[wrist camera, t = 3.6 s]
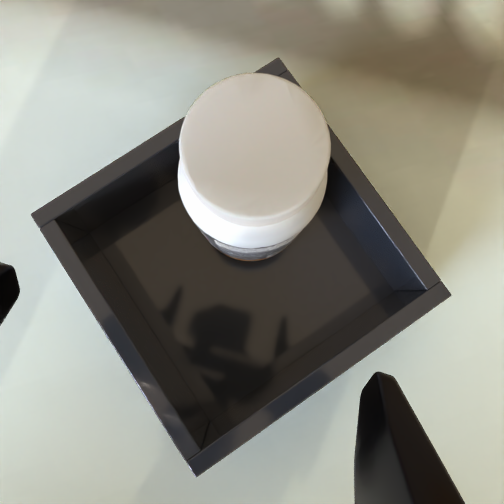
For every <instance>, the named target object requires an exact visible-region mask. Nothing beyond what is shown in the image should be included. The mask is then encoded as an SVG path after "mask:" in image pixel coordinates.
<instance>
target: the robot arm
mask: <svg viewBox="0 0 504 504" xmlns="http://www.w3.org/2000/svg"><path fill="white" fill-rule="evenodd" d="M19 293H20V288H19V284H18V280H17V276H16V272H15V269H14V268H13V267H12V266H11V265H8V264H4V263H1V262H0V326H1V324H2V322H3V321H4V319H5V318H6V316H7V314H8V313H9V311H10V310H11V308H12V306H13V305H14V303H15V302H16V300H17V298H18V296H19ZM354 491H355V504H465V502H464V500H463V499H462V497H461V495H460V493H459V491H458V490H457V488H456V486H455V484H454V482H453V481H452V479H451V477H450V475H449V474H448V472H447V470H446V468H445V466H444V465H443V463H442V461H441V459H440V457H439V456H438V454H437V452H436V450H435V449H434V447H433V445H432V443H431V441H430V440H429V438H428V436H427V434H426V432H425V431H424V429H423V427H422V425H421V424H420V422H419V420H418V418H417V416H416V415H415V413H414V411H413V409H412V407H411V406H410V404H409V402H408V400H407V398H406V397H405V395H404V393H403V391H402V390H401V388H400V386H399V384H398V382H397V381H396V379H395V378H394V377H393V376H391V375H388V374H385V373H382V372H376V373H374V374H373V376H372V377H371V378H370V380H369V381H368V383H367V384H366V385H365V387H364V388H363V390H362V393H361V396H360V405H359V415H358V426H357V436H356V446H355V459H354Z"/></svg>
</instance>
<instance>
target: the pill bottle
mask: <svg viewBox="0 0 504 504" xmlns="http://www.w3.org/2000/svg"><path fill="white" fill-rule="evenodd" d="M330 153H331V141H330V134H329V129H328V126H327V123H326V120H325V118H324V116H323V114H322V112H321V110H320V108H319V107H318V105H317V104H316V103H315V101H314V100H313V99H312V98H311V97H310V96H309V95H308V94H307V93H306V92H305V91H304V90H303V89H301V88H300V87H299V86H297V85H296V84H294V83H292V82H290V81H288V80H286V79H284V78H281V77H278V76H274V75H270V74H263V73H244V74H238V75H235V76H231V77H228V78H225V79H223V80H221V81H219V82H217V83H215V84H214V85H212V86H211V87H209V88H208V89H206V90H205V91H204V92H203V93H202V94H201V95H200V96H199V97H198V98H197V99H196V100H195V102H194V103H193V104H192V106H191V107H190V109H189V111H188V113H187V114H186V116H185V119H184V122H183V125H182V128H181V132H180V138H179V154H180V160H179V166H178V190H179V193H180V197H181V200H182V202H183V205H184V207H185V209H186V211H187V213H188V214H189V216H190V217H191V219H192V220H193V222H194V223H195V225H196V226H197V227H198V228H199V230H200V231H201V232H202V234H203V235H204V236H205V237H206V238H207V240H208V241H209V242H210V243H211V244H212V245H213V246H214V247H215V248H216V249H217V250H219V251H220V252H222V253H223V254H225V255H227V256H229V257H231V258H234V259H237V260H242V261H258V260H263V259H267V258H269V257H272V256H274V255H276V254H278V253H280V252H281V251H282V250H284V249H285V248H286V247H287V246H288V245H290V244H291V242H292V241H293V240H294V239H295V238H296V237H297V236H298V235H299V233H300V232H301V231H302V230H303V229H304V228H305V227H306V226H307V224H308V223H309V222H310V221H311V220H312V219H313V217H314V216H315V214H316V213H317V211H318V209H319V208H320V206H321V203H322V201H323V198H324V194H325V190H326V185H327V168H328V164H329V160H330Z"/></svg>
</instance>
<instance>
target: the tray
mask: <svg viewBox="0 0 504 504" xmlns="http://www.w3.org/2000/svg"><path fill="white" fill-rule="evenodd" d="M254 73H263V74H270V75H274V76H278V77H281V78H284V79H286V80H288V81H290V82H292V83H294V84H296V85H297V86H299V87H300V85H299V84H298V83H297V81H296V80H295V78H294V77H293V76H292V74H291V73H290V72H289V70H288V71H287V68H286V67H285V65H284V64H283V62H282V61H281V60H280V58H276V59H275V60H273V61H272V62H270V63H269V64H267V65H265V66H264V67H262V68H261V69H259V70H258V71H256V72H254ZM300 88H301V87H300ZM301 89H302V88H301ZM184 119H185V117H183V118H182V119H180V120H179V121H177V122H175V123H174V124H172V125H171V126H169V127H168V128H166V129H164V130H163V131H161V132H160V133H158V134H156V135H155V136H153V137H152V138H150V139H149V140H147V141H145V142H144V143H142V144H141V145H139V146H137V147H136V148H134V149H133V150H131V151H130V152H128V153H126V154H125V155H123V156H122V157H120V158H119V159H117V160H115V161H114V162H112V163H111V164H109V165H107V166H106V167H104V168H103V169H101V170H100V171H98V172H96V173H95V174H93V175H92V176H90V177H89V178H87V179H85V180H84V181H82V182H81V183H79V184H77V185H76V186H74V187H73V188H71V189H70V190H68V191H66V192H65V193H63V194H62V195H60V196H59V197H57V198H55V199H54V200H52V201H51V202H49V203H47V204H46V205H44V206H43V207H41V208H40V209H38V210H36V211H35V212H33V213H32V214H31V216H32V218H33V219H34V221H35V222H36V224H37V226H38V227H39V228H40V231H41V232H42V234H43V235H44V237H45V239H46V240H47V242H48V243H49V245H50V246H51V248H52V250H53V251H54V253H55V254H56V256H57V258H58V259H59V261H60V262H61V264H62V266H63V267H64V269H65V270H66V272H67V274H68V275H69V277H70V278H71V280H72V282H73V283H74V285H75V286H76V288H77V289H78V291H79V293H80V294H81V296H82V297H83V299H84V301H85V302H86V304H87V305H88V307H89V309H90V310H91V312H92V313H93V315H94V317H95V318H96V320H97V321H98V323H99V324H100V326H101V328H102V329H103V331H104V332H105V334H106V336H107V337H108V339H109V340H110V342H111V344H112V345H113V347H114V348H115V350H116V352H117V353H118V355H119V356H120V358H121V360H122V361H123V363H124V364H125V366H126V367H127V369H128V371H129V372H130V374H131V375H132V377H133V379H134V380H135V382H136V383H137V385H138V387H139V388H140V390H141V391H142V393H143V395H144V396H145V398H146V399H147V401H148V402H149V404H150V406H151V407H152V409H153V410H154V412H155V414H156V415H157V417H158V418H159V420H160V422H161V423H162V425H163V426H164V428H165V430H166V431H167V433H168V434H169V436H170V438H171V439H172V441H173V442H174V444H175V445H176V447H177V449H178V450H179V452H180V453H181V455H182V457H183V458H184V460H185V461H186V463H187V465H188V466H189V468H190V469H191V471H192V472H193V474H194V476H195V477H198V476H199V475H201V474H202V473H204V472H205V471H206V470H208V469H209V468H211V467H212V466H213V465H215V464H216V463H218V462H219V461H220V460H222V459H223V458H225V457H226V456H227V455H229V454H230V453H232V452H233V451H234V450H236V449H237V448H239V447H240V446H241V445H243V444H244V443H246V442H247V441H248V440H250V439H251V438H253V437H254V436H255V435H257V434H258V433H260V432H261V431H262V430H264V429H265V428H267V427H268V426H269V425H271V424H272V423H274V422H275V421H276V420H278V419H279V418H281V417H282V416H283V415H285V414H286V413H288V412H289V411H290V410H292V409H293V408H295V407H296V406H297V405H299V404H300V403H302V402H303V401H304V400H306V399H307V398H309V397H310V396H311V395H313V394H314V393H316V392H317V391H318V390H320V389H321V388H323V387H324V386H325V385H327V384H328V383H330V382H331V381H332V380H334V379H335V378H337V377H338V376H339V375H341V374H342V373H344V372H345V371H346V370H348V369H349V368H351V367H352V366H354V365H355V364H356V363H358V362H359V361H361V360H362V359H363V358H365V357H366V356H368V355H369V354H370V353H372V352H373V351H375V350H376V349H377V348H379V347H380V346H382V345H383V344H384V343H386V342H387V341H389V340H390V339H391V338H393V337H394V336H396V335H397V334H398V333H400V332H401V331H403V330H404V329H405V328H407V327H408V326H410V325H411V324H412V323H414V322H415V321H417V320H418V319H419V318H421V317H422V316H424V315H425V314H426V313H428V312H429V311H431V310H432V309H433V308H435V307H436V306H438V305H439V304H440V303H442V302H443V301H445V300H446V299H447V298H449V297H450V296H451V294H450V292H449V291H448V289H447V288H446V287H445V285H444V284H443V283H442V282H441V279H440V278H439V277H438V275H437V274H436V273H435V271H434V270H433V268H432V267H431V266H430V264H429V263H428V262H427V260H426V259H425V257H424V256H423V255H422V253H421V252H420V251H419V249H418V248H417V246H416V245H415V244H414V242H413V241H412V240H411V238H410V237H409V235H408V234H407V233H406V231H405V230H404V229H403V227H402V226H401V224H400V223H399V222H398V220H397V219H396V218H395V216H394V215H393V213H392V212H391V211H390V209H389V208H388V207H387V205H386V204H385V202H384V201H383V200H382V198H381V197H380V195H379V194H378V193H377V191H376V190H375V189H374V187H373V186H372V184H371V183H370V182H369V180H368V179H367V178H366V176H365V175H364V173H363V172H362V171H361V169H360V168H359V167H358V165H357V164H356V162H355V161H354V160H353V158H352V157H351V156H350V154H349V153H348V151H347V150H346V149H345V147H344V146H343V145H342V143H341V142H340V140H339V139H338V138H337V136H336V135H335V134H334V132H333V131H332V129H331V128H330V127H329V125H328V124H327V126H328V129H329V134H330V141H331V153H330V160H329V164H328V168H327V185H326V190H325V194H324V198H323V201H322V203H321V206H320V208H319V209H318V211H317V213H316V214H315V216H314V217H313V219H312V220H311V221H310V222H309V223H308V224H307V226H306V227H305V228H304V229H303V230H302V231H301V232H300V233H299V235H298V236H297V237H296V238H295V239H294V240H293V241H292V242H291V244H290V245H288V246H287V247H286V248H285V249H284V250H282V251H281V252H280V253H278V254H276V255H274V256H272V257H269V258H267V259H263V260H258V261H242V260H237V259H234V258H231V257H229V256H227V255H225V254H223V253H222V252H220V251H219V250H217V249H216V248H215V247H214V246H213V245H212V244H211V243H210V242H209V241H208V240H207V238H206V237H205V236H204V235H203V234H202V232H201V231H200V230H199V228H198V227H197V226H196V225H195V223H194V222H193V220H192V219H191V217H190V216H189V214H188V213H187V211H186V209H185V207H184V205H183V202H182V200H181V197H180V193H179V190H178V166H179V160H180V154H179V138H180V132H181V128H182V125H183V122H184Z"/></svg>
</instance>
